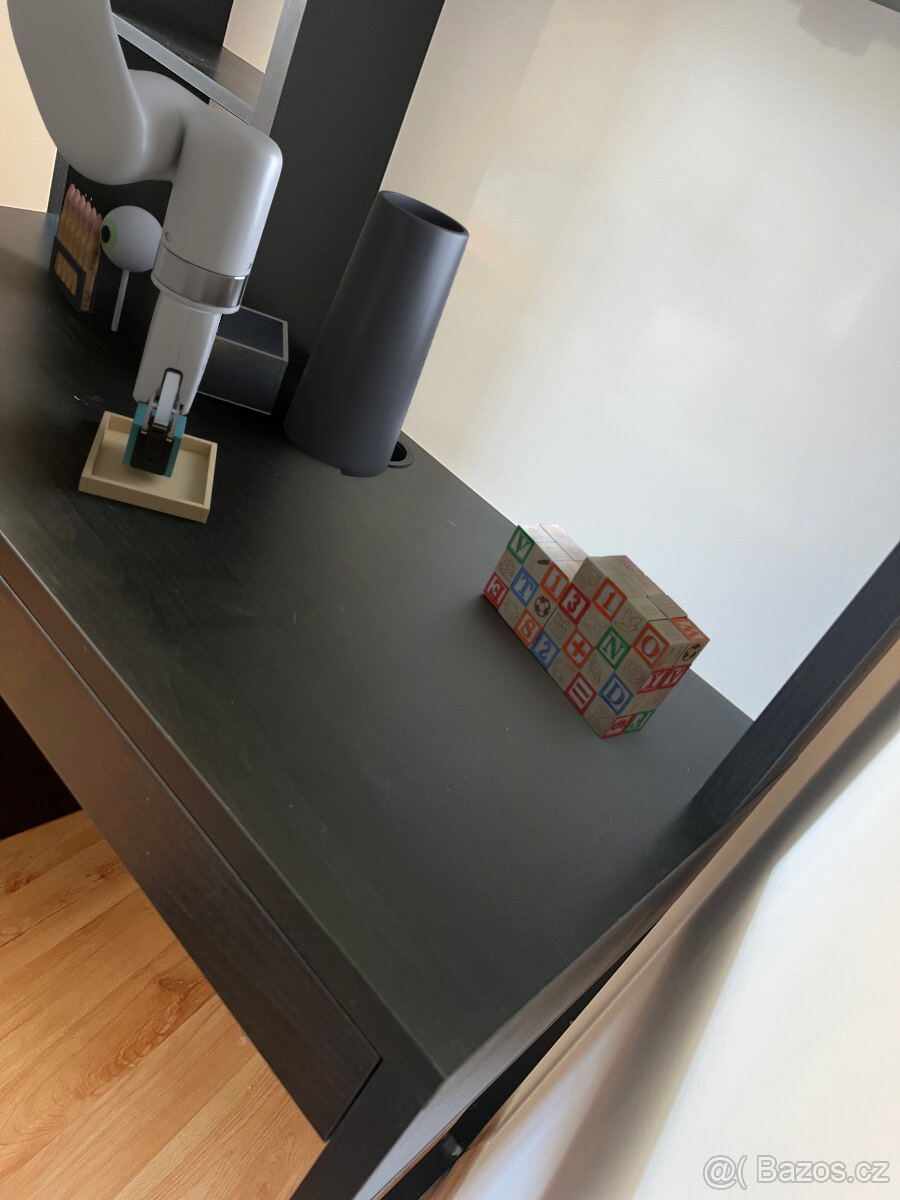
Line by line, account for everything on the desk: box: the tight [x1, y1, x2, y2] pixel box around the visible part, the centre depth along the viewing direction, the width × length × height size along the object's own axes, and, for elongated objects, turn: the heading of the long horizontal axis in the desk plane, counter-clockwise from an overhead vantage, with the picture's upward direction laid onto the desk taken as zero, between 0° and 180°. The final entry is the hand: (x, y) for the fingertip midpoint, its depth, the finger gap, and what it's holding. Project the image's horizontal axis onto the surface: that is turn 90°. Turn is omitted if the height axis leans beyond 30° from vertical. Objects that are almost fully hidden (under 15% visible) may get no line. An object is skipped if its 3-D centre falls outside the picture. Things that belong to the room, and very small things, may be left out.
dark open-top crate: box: [195, 304, 289, 418], centre depth 103 cm, size 13×13×8 cm
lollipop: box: [100, 205, 163, 332], centre depth 101 cm, size 7×7×15 cm
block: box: [122, 401, 187, 478], centre depth 81 cm, size 4×4×4 cm
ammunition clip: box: [47, 183, 103, 315], centre depth 105 cm, size 11×2×12 cm, turn 39°
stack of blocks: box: [482, 523, 711, 740], centre depth 84 cm, size 21×6×12 cm, turn 34°
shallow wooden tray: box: [78, 410, 218, 524], centre depth 82 cm, size 11×13×2 cm
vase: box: [282, 189, 470, 477], centre depth 97 cm, size 14×14×29 cm
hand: (150, 454), depth 81 cm, fingers closed on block, 4 cm apart
